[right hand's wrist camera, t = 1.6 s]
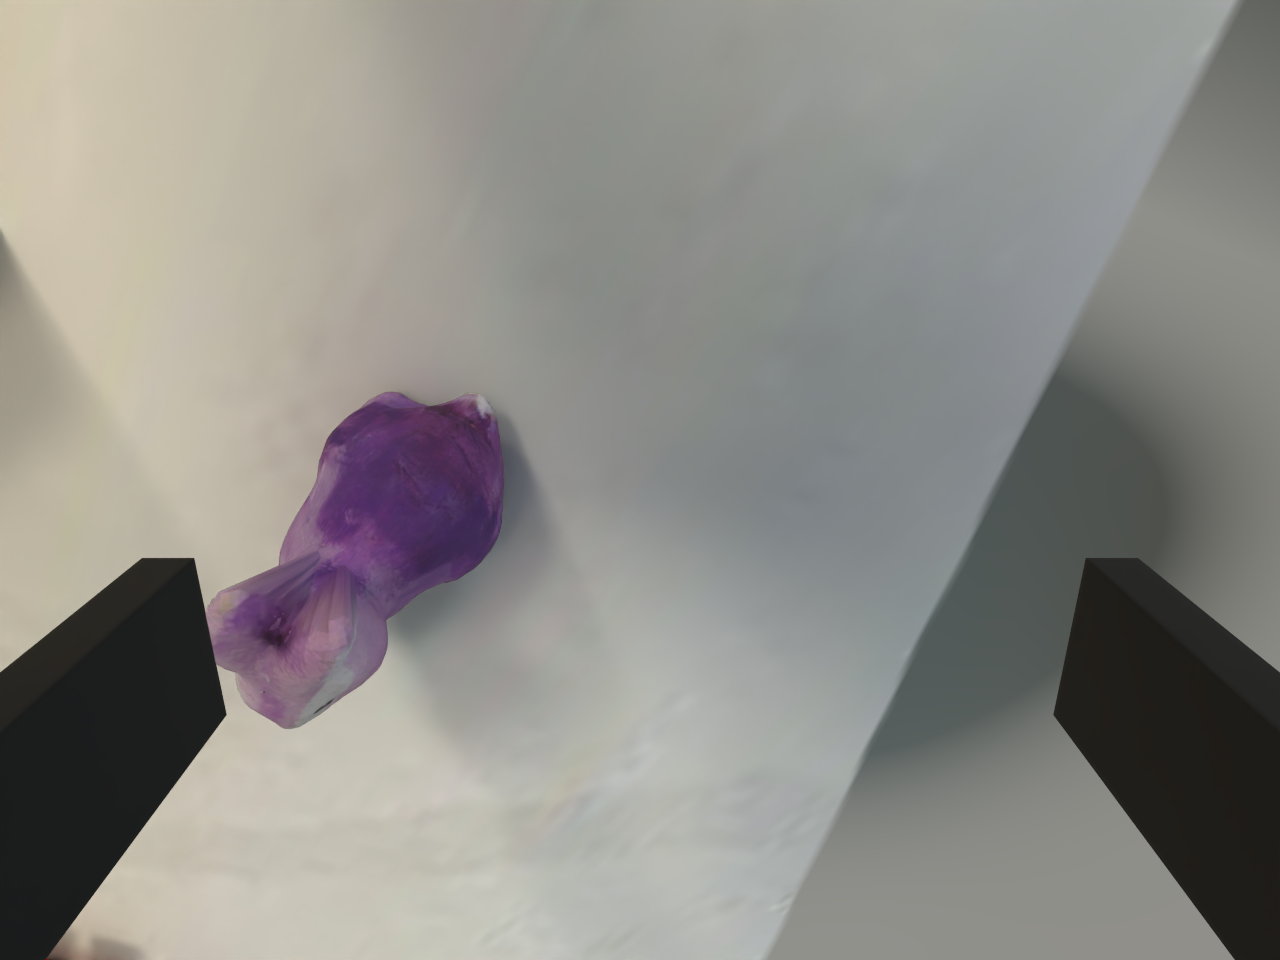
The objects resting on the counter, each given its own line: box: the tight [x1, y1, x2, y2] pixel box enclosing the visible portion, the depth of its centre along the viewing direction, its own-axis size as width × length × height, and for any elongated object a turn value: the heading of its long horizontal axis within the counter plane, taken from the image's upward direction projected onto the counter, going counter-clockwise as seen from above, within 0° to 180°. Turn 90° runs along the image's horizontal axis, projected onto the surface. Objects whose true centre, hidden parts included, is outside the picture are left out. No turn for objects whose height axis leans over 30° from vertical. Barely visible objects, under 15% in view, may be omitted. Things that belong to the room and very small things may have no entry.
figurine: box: [205, 392, 504, 729], centre depth 32 cm, size 9×10×15 cm
